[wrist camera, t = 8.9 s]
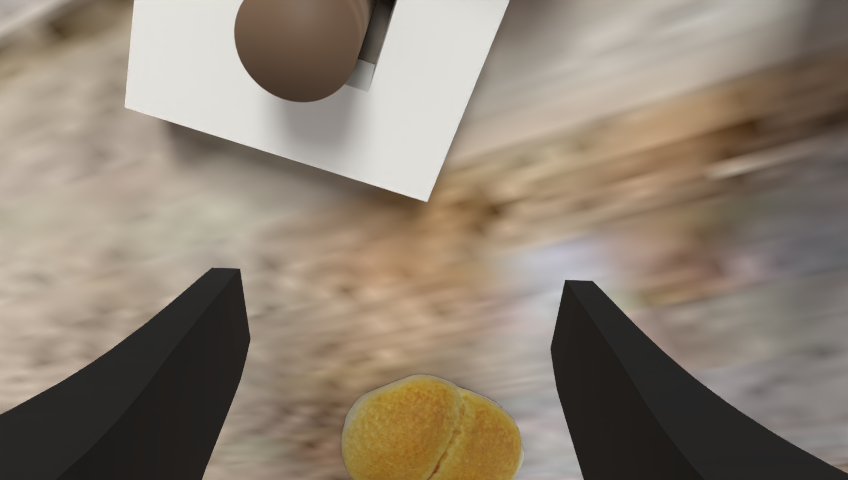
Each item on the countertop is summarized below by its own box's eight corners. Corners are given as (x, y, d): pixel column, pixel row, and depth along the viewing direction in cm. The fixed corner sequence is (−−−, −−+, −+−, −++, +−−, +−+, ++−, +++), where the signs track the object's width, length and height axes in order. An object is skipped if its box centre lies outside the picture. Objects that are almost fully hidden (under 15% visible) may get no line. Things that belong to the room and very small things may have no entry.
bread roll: (385, 346, 28) (380, 411, 25) (541, 407, 30) (556, 475, 27) (317, 447, 32) (304, 515, 29) (460, 495, 34) (464, 564, 31)
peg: (393, -23, 19) (381, 27, 13) (348, 50, 20) (319, 124, 14) (318, -78, 18) (269, -53, 12) (275, 0, 20) (213, 57, 14)
